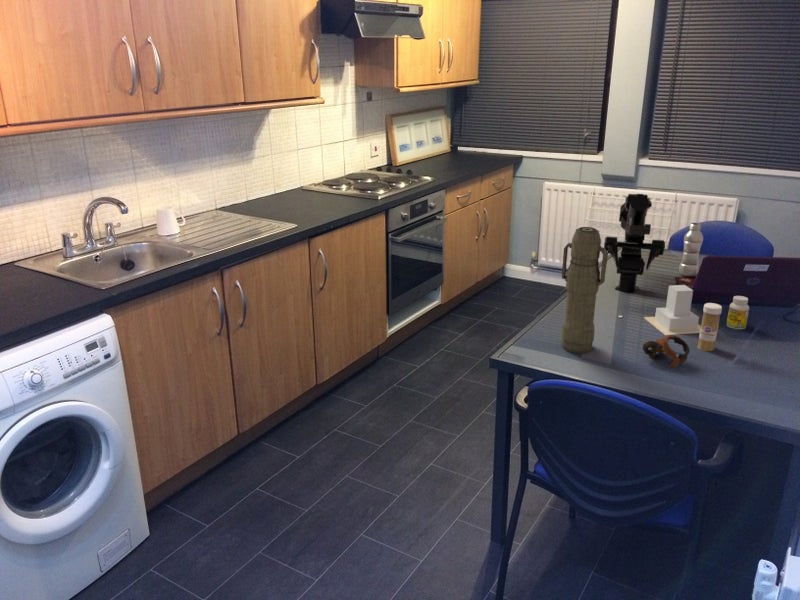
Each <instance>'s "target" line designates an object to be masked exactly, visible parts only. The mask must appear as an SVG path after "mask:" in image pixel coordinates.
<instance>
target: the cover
mask: <svg viewBox="0 0 800 600" xmlns="http://www.w3.org/2000/svg"><path fill="white" fill-rule="evenodd" d="M693 294H694V289H692V288H690V287H689V286H687V285H686V284H678V285H675V284H674V285H668V290H667V297H666V304H665V307H656V308H655V316H654V317H655V320H656V321H657V322H658V323H659V324H661V325H662V326H663V327H664V328H666V329H667V330H668V331H679V330H696V329H697V327H698V324H699V320H700V317H699V316H698V315H697V314H695V313H694V312H693V311H691V307H692V300H693V296H694V295H693Z"/></svg>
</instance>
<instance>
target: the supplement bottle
mask: <svg viewBox="0 0 800 600" xmlns="http://www.w3.org/2000/svg"><path fill="white" fill-rule="evenodd" d="M748 303H749V298H748V297H746V296H743V295H734V296H733V298H732V302H731V303H730V304H729V308H728V313H727V319H726V327H728V328H731V329H735V330H743V329H744V330H745V329H746V328H747V324H748V323H747V322H748V317H749V311H750V306H749V305H748Z"/></svg>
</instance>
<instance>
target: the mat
mask: <svg viewBox="0 0 800 600" xmlns="http://www.w3.org/2000/svg"><path fill="white" fill-rule="evenodd" d="M643 319H644V320H646V321H647V322H648V323H650V324H651V325H652V326H653V327H654V328H656V329H657V330H658V331H659V332H661V333H662V334H663V335H664V336H669V335H673V336H676V335H686V334H688V335H690V334H700V329H701V324H699V323H698V327H697V329H696V330H679V331H668V330H667V329H666V328H664V327H663V326H662V325H661V324H659V323H658V322H657V321H656V320H655V316H644V317H643Z"/></svg>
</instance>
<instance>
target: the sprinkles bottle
mask: <svg viewBox="0 0 800 600" xmlns="http://www.w3.org/2000/svg"><path fill="white" fill-rule="evenodd" d="M722 311H723V307H722V305H721V304H718V303H714V302H706V303H704V305H703V311H702V312H703V314H702V320H701V324H700V326H701V329H700V333H699V335H698V342H697V343H698V344H697V346H696V347H697V349H699V350H701V351H704V352H712V351H714V350H715V347H716V346H715V345H716V341H717V337H718V336H717V335H718V331H719V323H720V318H721V317H720V316H721V314H722Z"/></svg>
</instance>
